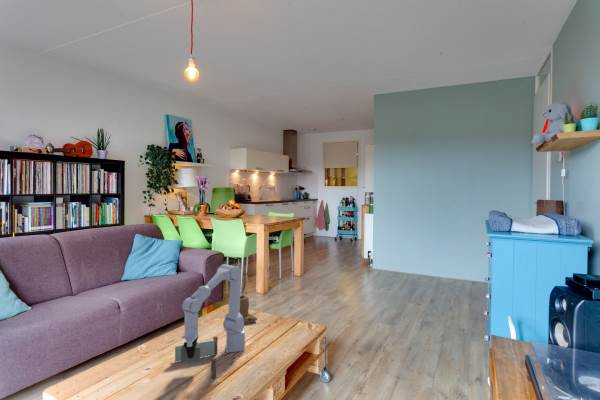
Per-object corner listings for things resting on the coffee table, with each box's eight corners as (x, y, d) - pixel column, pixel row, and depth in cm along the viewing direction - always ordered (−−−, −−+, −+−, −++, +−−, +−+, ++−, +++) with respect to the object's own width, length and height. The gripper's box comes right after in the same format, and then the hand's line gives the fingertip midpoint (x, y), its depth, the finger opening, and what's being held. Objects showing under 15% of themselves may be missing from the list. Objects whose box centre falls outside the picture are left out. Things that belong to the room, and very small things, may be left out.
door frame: (217, 351, 164) (217, 336, 163) (215, 378, 140) (215, 360, 140) (213, 352, 163) (213, 336, 163) (211, 379, 140) (211, 361, 140)
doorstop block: (200, 356, 148) (200, 343, 148) (199, 360, 144) (199, 347, 144) (182, 358, 147) (182, 345, 146) (181, 362, 143) (180, 349, 142)
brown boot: (229, 318, 207) (230, 295, 206) (246, 314, 214) (246, 291, 213) (240, 326, 194) (240, 301, 194) (257, 322, 201) (258, 298, 201)
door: (216, 352, 162) (216, 338, 162) (216, 354, 160) (216, 340, 159) (175, 359, 154) (175, 345, 154) (175, 362, 152) (175, 347, 152)
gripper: (184, 319, 151) (184, 348, 152) (179, 333, 137) (179, 364, 138) (199, 318, 153) (199, 346, 153) (197, 331, 139) (196, 362, 139)
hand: (191, 355), depth 145 cm, fingers closed on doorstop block, 4 cm apart
